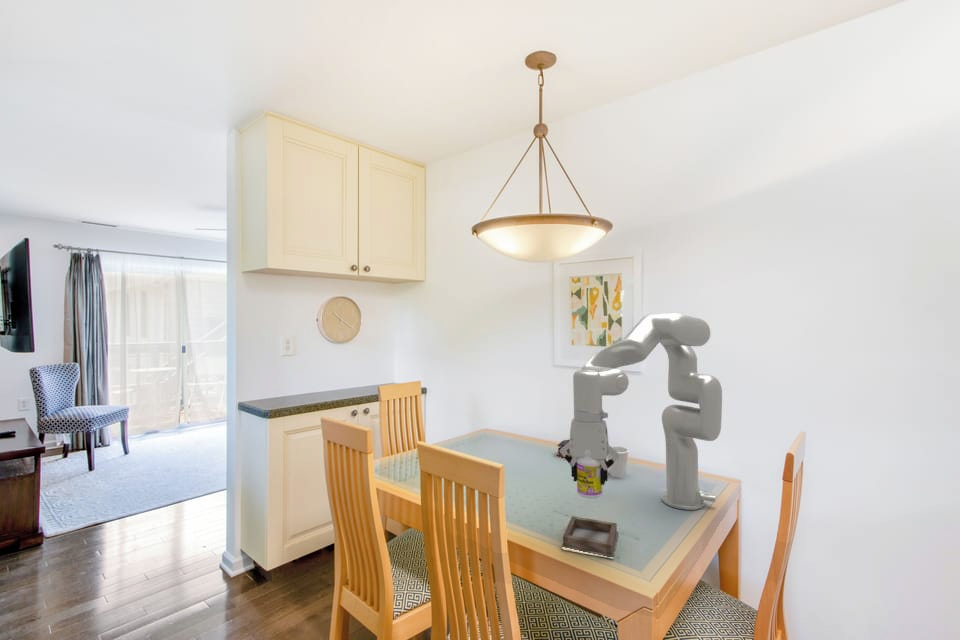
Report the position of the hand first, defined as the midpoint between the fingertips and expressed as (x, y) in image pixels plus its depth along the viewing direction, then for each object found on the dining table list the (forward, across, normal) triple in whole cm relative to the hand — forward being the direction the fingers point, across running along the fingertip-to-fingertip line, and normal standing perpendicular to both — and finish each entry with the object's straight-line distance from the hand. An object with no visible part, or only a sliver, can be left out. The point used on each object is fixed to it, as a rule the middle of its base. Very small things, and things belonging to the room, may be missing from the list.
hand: (589, 480), depth 118 cm
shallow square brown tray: (+17, 0, 0) cm, 17 cm away
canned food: (+17, +20, -71) cm, 76 cm away
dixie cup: (+17, -2, -54) cm, 57 cm away
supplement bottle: (+4, 0, 0) cm, 4 cm away
